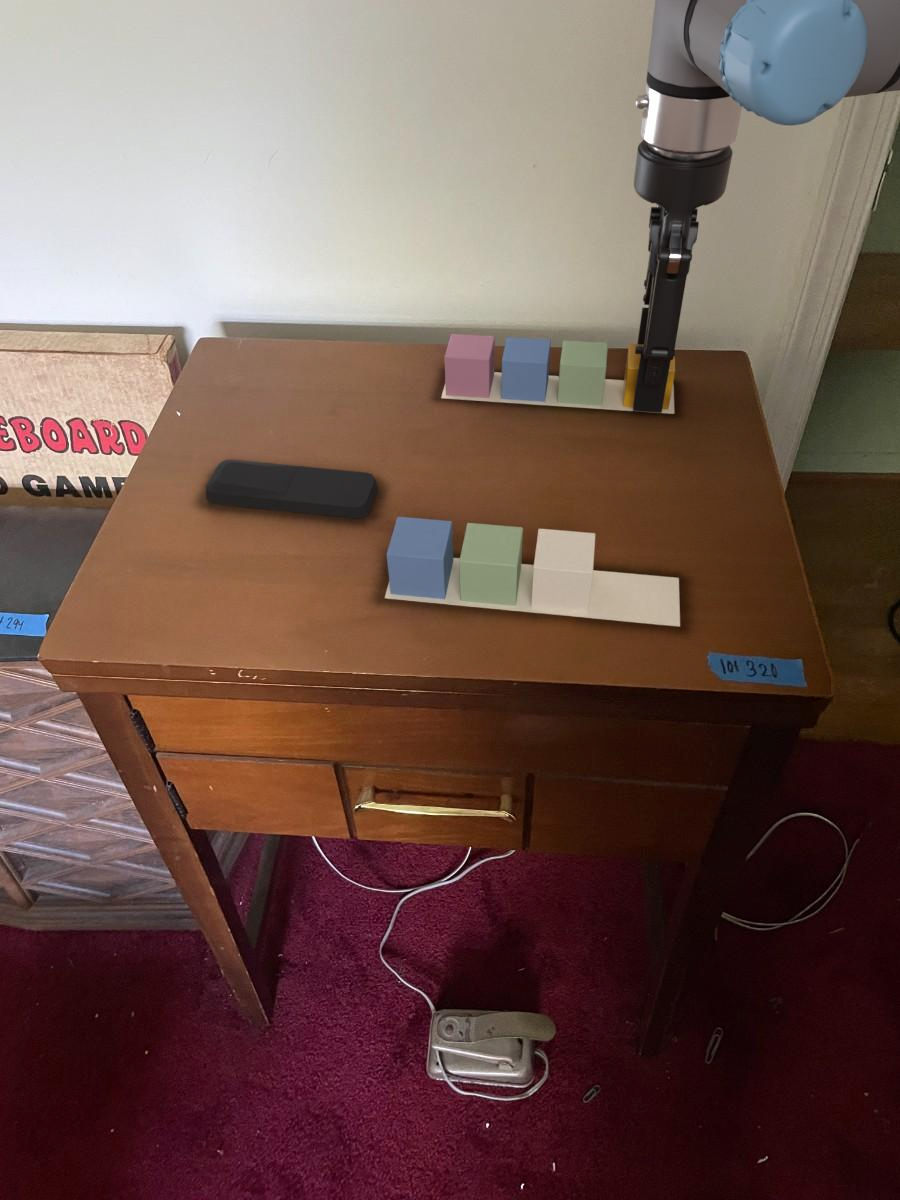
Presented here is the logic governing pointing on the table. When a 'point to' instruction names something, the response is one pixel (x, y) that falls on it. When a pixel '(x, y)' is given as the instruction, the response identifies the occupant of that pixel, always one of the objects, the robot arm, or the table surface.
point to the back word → (532, 374)
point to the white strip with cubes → (521, 574)
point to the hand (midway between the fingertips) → (647, 388)
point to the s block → (632, 374)
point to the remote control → (292, 488)
